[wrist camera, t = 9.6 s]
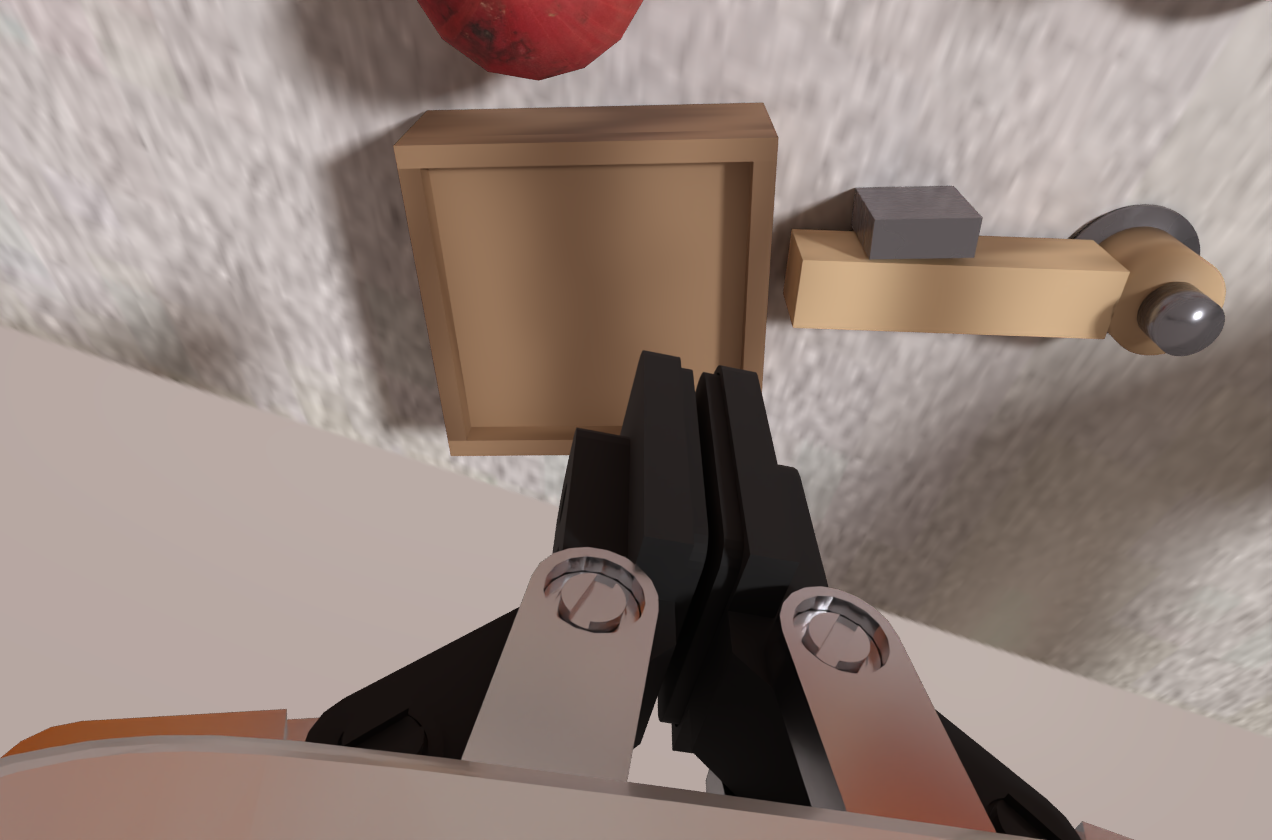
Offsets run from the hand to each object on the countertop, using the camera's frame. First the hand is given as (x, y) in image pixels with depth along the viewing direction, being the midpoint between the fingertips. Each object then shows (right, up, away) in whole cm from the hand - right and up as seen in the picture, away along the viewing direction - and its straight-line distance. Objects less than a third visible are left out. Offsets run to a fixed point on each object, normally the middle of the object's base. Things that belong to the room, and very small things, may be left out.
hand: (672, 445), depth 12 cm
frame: (+12, +6, +15) cm, 20 cm away
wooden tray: (-2, +5, +15) cm, 16 cm away
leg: (+11, +5, +15) cm, 19 cm away
